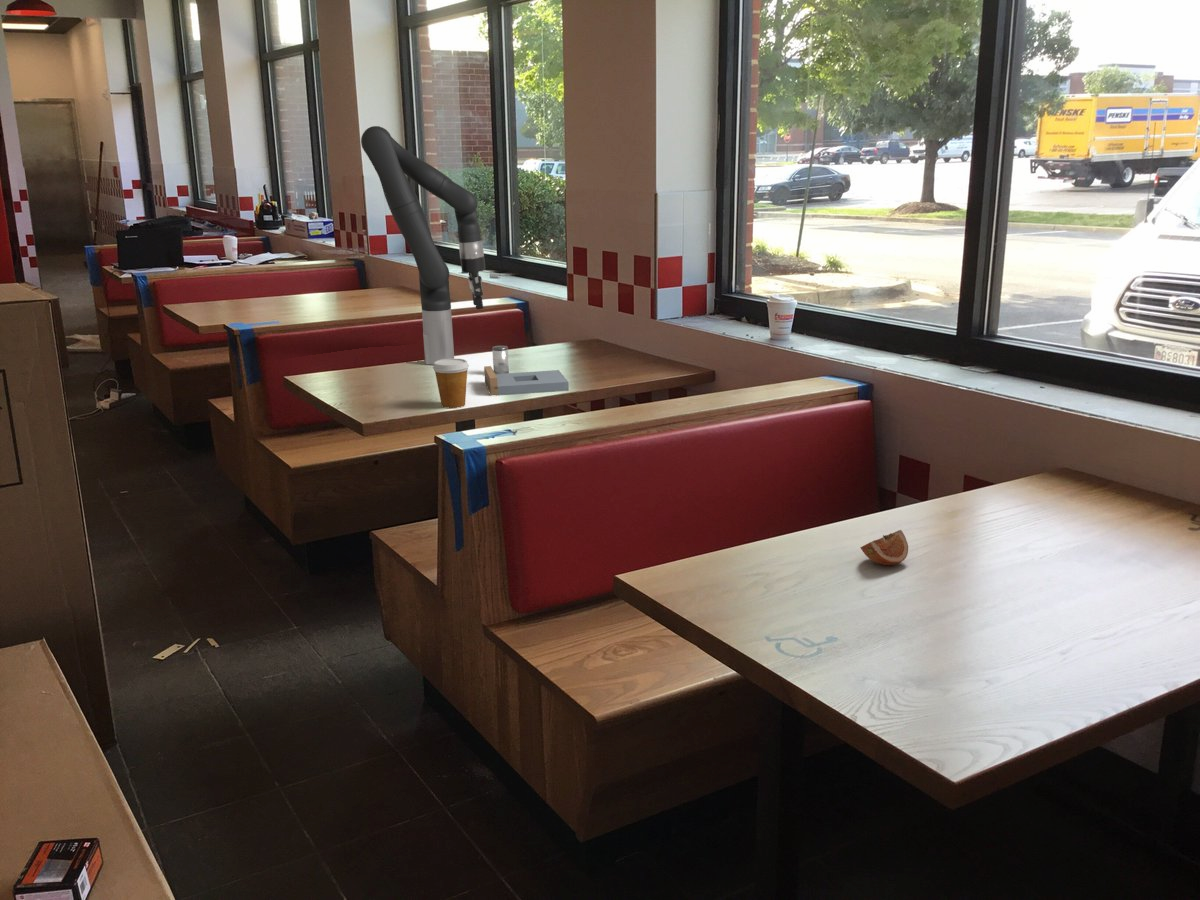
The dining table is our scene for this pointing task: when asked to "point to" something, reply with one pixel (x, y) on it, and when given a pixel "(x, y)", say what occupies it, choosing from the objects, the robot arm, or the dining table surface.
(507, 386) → the jig
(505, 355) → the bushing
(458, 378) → the disposable coffee cup
